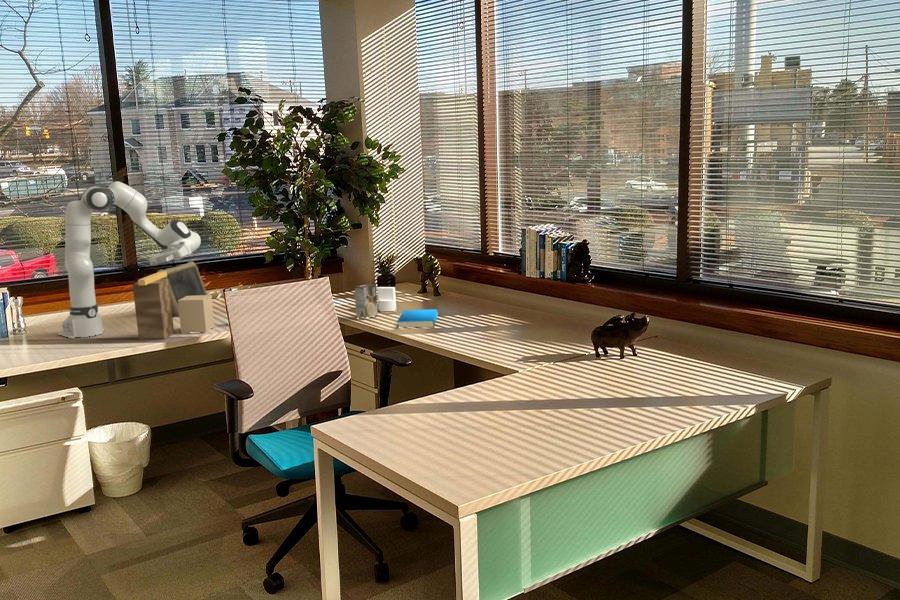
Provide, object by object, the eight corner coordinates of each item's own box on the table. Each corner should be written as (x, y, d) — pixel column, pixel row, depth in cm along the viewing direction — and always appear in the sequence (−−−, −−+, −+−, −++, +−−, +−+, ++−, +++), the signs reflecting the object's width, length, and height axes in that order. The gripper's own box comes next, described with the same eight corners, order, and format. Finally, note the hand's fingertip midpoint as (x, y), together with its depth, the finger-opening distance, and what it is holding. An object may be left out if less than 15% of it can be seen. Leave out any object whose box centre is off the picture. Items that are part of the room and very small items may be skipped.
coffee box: (368, 315, 421) (366, 283, 418) (378, 316, 417) (376, 284, 414) (356, 318, 414) (354, 286, 411) (365, 320, 410) (363, 287, 407)
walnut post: (149, 334, 399) (143, 280, 394) (174, 333, 398) (168, 279, 394) (138, 340, 387) (132, 284, 383) (164, 339, 387) (158, 283, 382)
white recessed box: (376, 312, 428) (374, 289, 426) (382, 308, 436) (381, 285, 434) (392, 312, 425) (391, 289, 423) (399, 309, 433) (397, 286, 431)
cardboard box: (190, 328, 408) (186, 295, 406) (214, 327, 408) (211, 295, 405) (181, 333, 397) (177, 300, 394) (206, 333, 396) (202, 299, 393)
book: (397, 321, 387) (402, 309, 412) (398, 330, 388) (403, 318, 413) (434, 319, 386) (437, 308, 411) (435, 328, 387) (438, 317, 412)
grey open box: (183, 317, 437) (178, 269, 432) (158, 317, 439) (153, 270, 435) (211, 305, 468) (207, 260, 464) (188, 305, 471) (183, 261, 466)
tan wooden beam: (161, 276, 404) (160, 271, 403) (167, 276, 404) (166, 270, 403) (138, 285, 378) (137, 280, 378) (145, 285, 378) (144, 279, 378)
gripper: (158, 249, 417) (140, 260, 405) (188, 241, 407) (170, 251, 396) (164, 261, 419) (146, 272, 407) (194, 252, 409) (176, 264, 398)
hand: (158, 262), depth 401 cm, fingers open, 8 cm apart
